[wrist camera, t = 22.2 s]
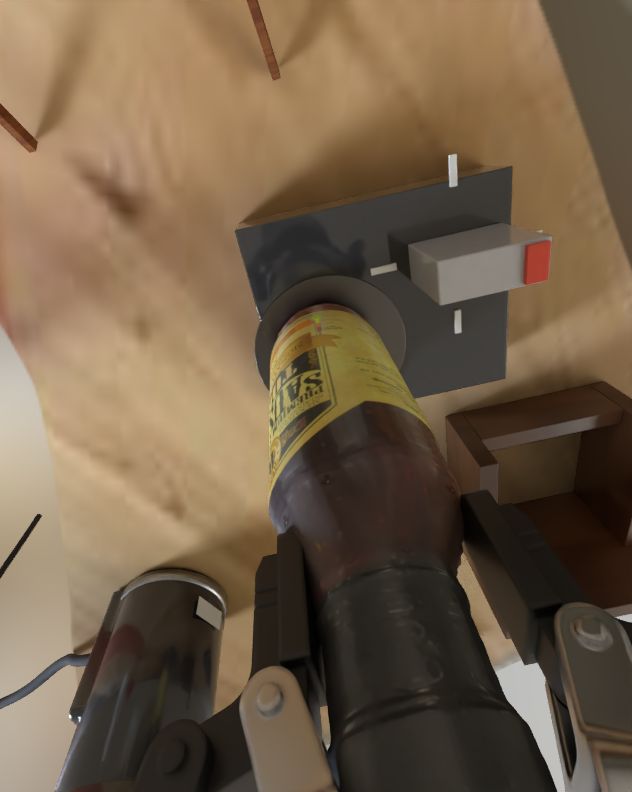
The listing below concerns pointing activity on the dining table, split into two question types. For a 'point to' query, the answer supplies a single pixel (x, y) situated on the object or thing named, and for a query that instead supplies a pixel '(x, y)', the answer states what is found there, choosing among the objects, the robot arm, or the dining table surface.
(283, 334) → the sauce bottle
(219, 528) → the dining table surface
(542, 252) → the knob
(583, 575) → the spice rack
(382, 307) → the burner ring
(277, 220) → the hob
